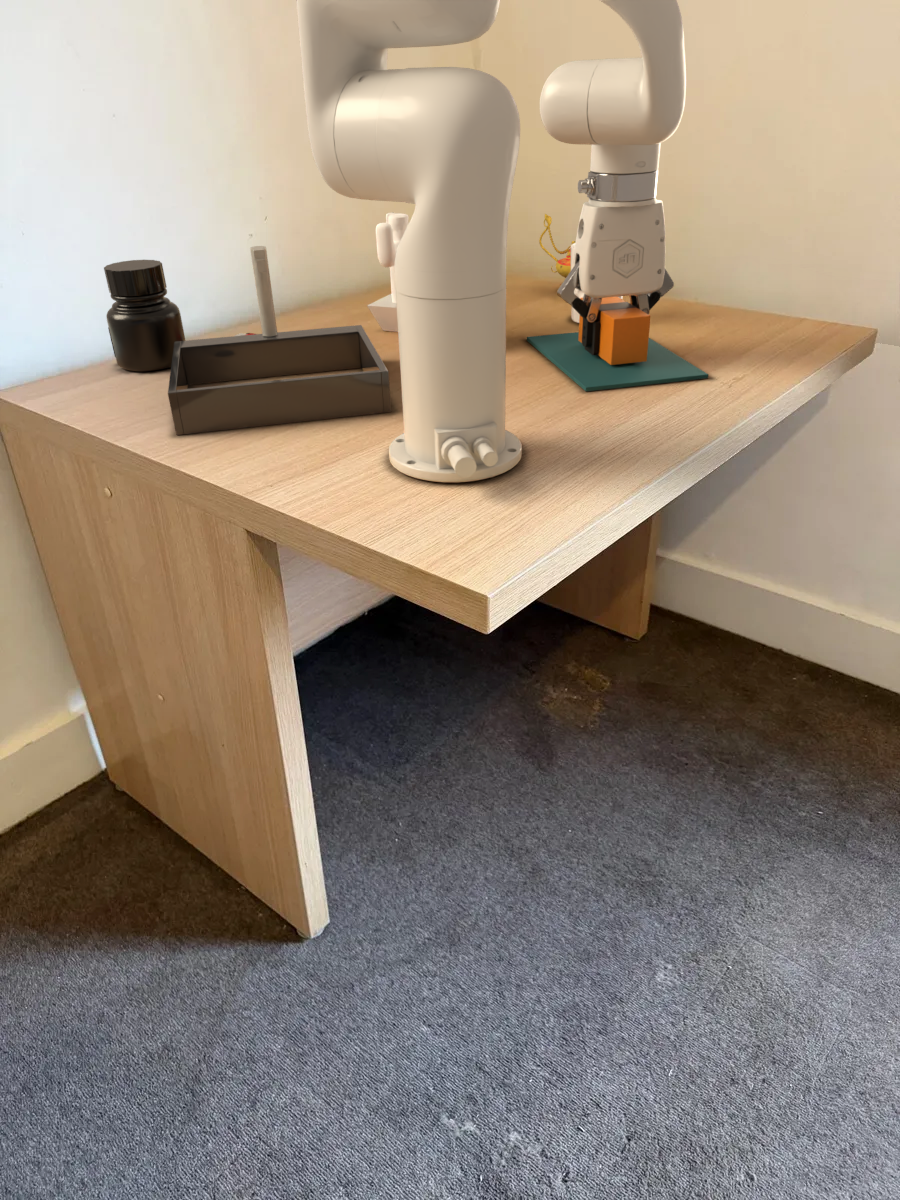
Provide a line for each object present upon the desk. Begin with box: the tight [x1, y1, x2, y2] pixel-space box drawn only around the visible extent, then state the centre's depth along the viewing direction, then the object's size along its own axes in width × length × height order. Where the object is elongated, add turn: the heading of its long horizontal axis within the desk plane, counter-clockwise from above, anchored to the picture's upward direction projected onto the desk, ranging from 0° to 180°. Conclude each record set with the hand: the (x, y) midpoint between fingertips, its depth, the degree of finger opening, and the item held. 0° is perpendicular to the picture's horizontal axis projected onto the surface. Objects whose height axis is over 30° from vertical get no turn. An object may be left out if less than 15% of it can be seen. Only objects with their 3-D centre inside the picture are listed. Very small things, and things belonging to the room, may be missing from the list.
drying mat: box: [526, 331, 709, 392], centre depth 108 cm, size 22×15×1 cm
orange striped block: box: [578, 297, 652, 365], centre depth 106 cm, size 11×5×5 cm, turn 13°
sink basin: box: [167, 245, 392, 436], centre depth 96 cm, size 20×23×15 cm
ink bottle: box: [103, 259, 186, 372], centre depth 109 cm, size 10×9×12 cm
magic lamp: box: [538, 213, 576, 279], centre depth 136 cm, size 7×18×11 cm, turn 52°
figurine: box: [366, 211, 410, 333], centre depth 119 cm, size 7×9×15 cm
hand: (611, 348), depth 107 cm, fingers closed on orange striped block, 4 cm apart
